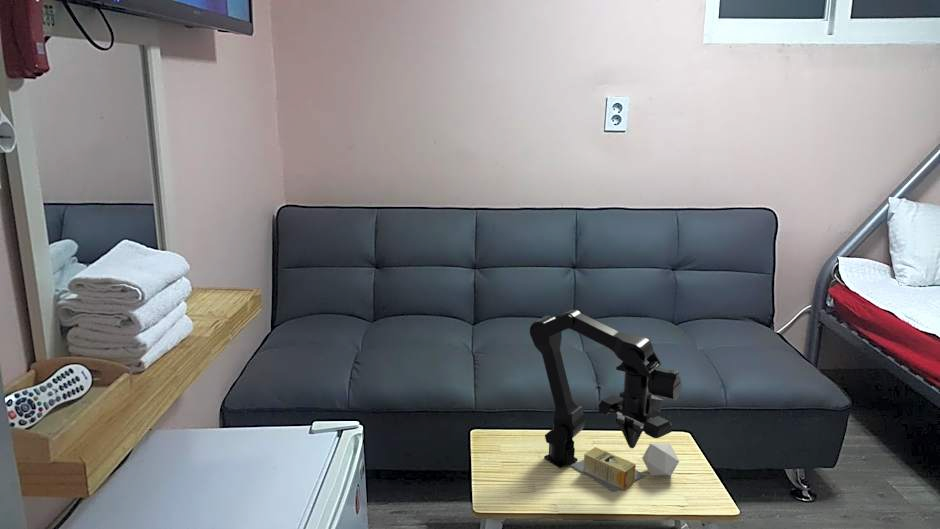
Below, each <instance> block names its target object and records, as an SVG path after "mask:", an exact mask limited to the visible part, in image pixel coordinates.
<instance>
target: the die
mask: <svg viewBox="0 0 940 529" xmlns="http://www.w3.org/2000/svg"><path fill="white" fill-rule="evenodd" d="M672 446H673V445H672V444H671V443H661V442H660V443H658V442H657V443H652V442H650V443H649V445H648V447H647V449H646V450H645V452H644V454H643V456H642V458H641V459H642V460H643V463H644V465H645V466H646V469H647V471H648V473H649V474H650V476H651V477H672V475H673V473H674V472H675V469H677V466H678V465H679V462H680V460H679V458H678V456H677V454H676V452H675V450H674V449H673V447H672Z"/></svg>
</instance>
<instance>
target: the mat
mask: <svg viewBox="0 0 940 529" xmlns="http://www.w3.org/2000/svg"><path fill="white" fill-rule="evenodd" d="M570 465H571V467H572V468H573V469H575V470H577V471H578V472H579V473H582V474H583V475H584V476H586V477H588V478H589V479H591V480H593V481H594V482H596V483H597V484H599V485H601V486H602V487H604V488H606V489H607V490H608V491H611V492H612V493H613V492H616V491H618V490H619V489H621V488H619V487H617V486H615V485H612V484H610V483H608V482H606V481H604V480H602V479H599V478H597V477H595V476H593V475H591V474H588V473H586V472H584V471H583V470H584V459H582V460H580V461H576V462H574V463H572V464H570ZM645 477H646V474H644V473H642V472H641V471H639V470H638V469H635V480H634V482H636V481H638V480H640V479H643V478H645Z"/></svg>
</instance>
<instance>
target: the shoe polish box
mask: <svg viewBox="0 0 940 529" xmlns="http://www.w3.org/2000/svg"><path fill="white" fill-rule="evenodd" d="M583 455H584V458H583V460H584V470H583V471H584V472H586V473H588V474H591V475H593V476H595V477H597V478H599V479H602V480H604V481H606V482H608V483H610V484H612V485H615V486H617V487H619V488H620V489H621V490H625V489H627V488H628V487H630V486H631V485H632V484H633V483H635V481H634V480H635V470H636V463H634V462H631V461H629V460H626V459H625V458H622V457H619V456H617V455H615V454H613V453H610V452H608V451H606V450H603V449H601V448H599V447H596V446H595V447H593V448H592V449H590V450H589V451H586V453H584V454H583Z"/></svg>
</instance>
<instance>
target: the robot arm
mask: <svg viewBox="0 0 940 529" xmlns="http://www.w3.org/2000/svg"><path fill="white" fill-rule="evenodd" d="M567 329H569V330H572V331H574V332H576V333H577V334H579V335H582V336H584V337H585V338H588V339H589V340H591V341H593V342H596V343H597V344H599V345H601V346H604V347H606V348H607V349H609V350H610V351H612V352H613V354H614V355H615V356H616V357H617V358H618V359H619V360H620V361H622V362H620V364H618V365H616V367H615V370H617V371H619V372H620V371H621V372H623V374H624V375H623V391H621V392H619V397H620V398H619V397H617V396H615V395H611V396H609V397H606V398H603V399H601V400H600V401H599V402H598V407H597V409H598V412H600V413H602V414H603V415H605V416H606V415H608V414H610V413H611V410H613V411H614V412H616V415H617V417H616V418H615V419H614V421H615V423H616V424H617V425H618V427H619V429H620V430H621V432H622V434H623V437H624V439H625V441H626V443H627V445H628V447H629V448H630V449H634V448H635V447H636V446H637V444H638V442H639V439H640V437H641V435H642V433H644V434H645V435H646V436H649V437H651V438H653V439H660V438H662V437H664V436H666V435H667V434H671V433H672V429H673V425H672V422H671V421H669V420H667V419H665V418H664V417H661V416H659V415H657V416H654V417H653V418H652V416H649V415H650V414H652V413H653V411H654V412H658V413H660V412H661V410H662V405H663V403H664V399H666V400H667V399H668V400H673V401H678V398H679V397H680V394H681V391H682V385H683V384H682V383H683V382H682V380H681V379H682V378H681V376H680V372H679V371H678V370H674V369H673V370H672V369H666V368H663V367H661V366H662V362H661V361H660V359H659V358H658V356H657V354H656V352H655V351H654V347H653V344H652V342H651V340H649V339H648V338H646V337H644V336H639V335H637V334H634V333H624V332H621V331H618V330H616V329H614V328H612V327H610V326H608V325H606V324H604V323H602V322H599V321H597V320H596V319H594V318H591V317H589V316H587V315H586V314H583V313H581V311H579V310H577V309H570V310H569V311H566V312H564V313H561V314H558V315H555V316H553V315H546V316H545V315H544V316H543V317H542V318H540V319H538V320H536V321H534V322H533V323H532V324H531V325H530V327H529V331H528V332H529V335H530V338H531V342H532V344H533V346H534V347H535V348H536V349H537V350H538V351H539V353H541V356H542V360H543V364H544V368H545V369H544V370H545V372H546V376H547V381H548V384H549V388H550V392H551V397H552V401H553V404H554V409H553V410H554V411H553V417H552V424H553V428H552V429H550V430H549V431H548V432H547V433H546V434H545V435H544V438H545V441H546V443H547V444H548V454H545V455H544V459H545V460H546V461H548V462H549V463H551V464H552V465H554V466H556V467H558V468H559V469H562V468H564V467H567V466H569V465H573V464H575V463H577V462H578V458H577V457H575V452H576V451H575V450H576V449H575V441H574V439H573V438H575V437H576V436H577V435H578V434H579V433H581V431H583V429H584V428H585V425H586V424H585V422H586V421H587V418H586V417H585V414H584V407H583V406H582V405H580V406H577V405H576V403H575V402H574V401H573V397H572V393H571V392H572V391H571V389H570V385H569V381H568V378H567V372H566V369H565V365H564V360H563V357H562V352H561V345H562V337H563V335H562V332H564V331H566V330H567ZM645 362H648V363H647V364H645ZM662 398H664V399H662Z"/></svg>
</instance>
